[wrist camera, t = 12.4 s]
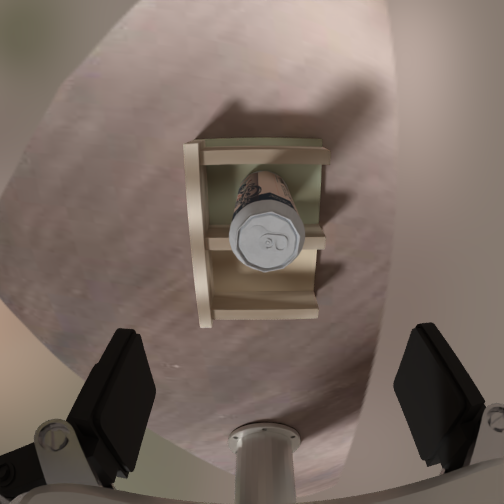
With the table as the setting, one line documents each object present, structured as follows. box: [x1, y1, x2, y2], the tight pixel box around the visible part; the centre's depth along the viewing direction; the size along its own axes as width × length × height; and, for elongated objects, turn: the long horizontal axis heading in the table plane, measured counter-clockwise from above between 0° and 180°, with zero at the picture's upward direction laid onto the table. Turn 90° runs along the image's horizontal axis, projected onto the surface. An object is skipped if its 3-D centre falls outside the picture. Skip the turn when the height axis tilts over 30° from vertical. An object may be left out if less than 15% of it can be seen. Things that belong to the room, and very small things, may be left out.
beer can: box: [229, 171, 305, 272], centre depth 24 cm, size 5×5×12 cm
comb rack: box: [183, 137, 331, 328], centre depth 30 cm, size 18×12×5 cm, turn 1°
